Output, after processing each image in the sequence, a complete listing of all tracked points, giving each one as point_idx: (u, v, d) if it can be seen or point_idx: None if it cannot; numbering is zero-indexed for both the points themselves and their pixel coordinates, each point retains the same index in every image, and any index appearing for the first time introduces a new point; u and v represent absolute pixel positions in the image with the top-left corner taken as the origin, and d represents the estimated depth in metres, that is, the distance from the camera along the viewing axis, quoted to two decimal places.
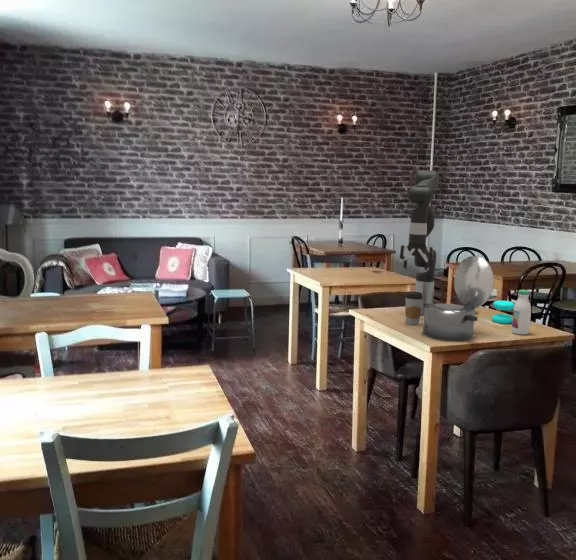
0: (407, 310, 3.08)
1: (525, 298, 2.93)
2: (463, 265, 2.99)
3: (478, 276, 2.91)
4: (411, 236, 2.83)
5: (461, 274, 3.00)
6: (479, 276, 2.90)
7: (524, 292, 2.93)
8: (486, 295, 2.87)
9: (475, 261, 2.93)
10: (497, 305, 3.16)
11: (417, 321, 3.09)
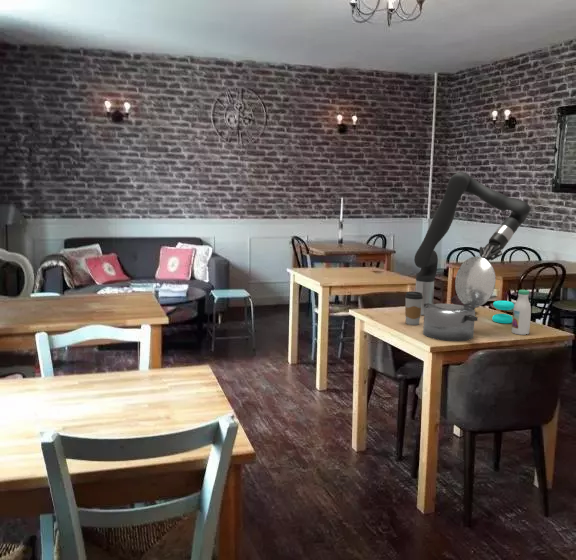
0: (407, 310, 3.08)
1: (525, 298, 2.93)
2: (465, 266, 3.00)
3: (480, 276, 2.92)
4: (506, 243, 2.98)
5: (463, 274, 3.01)
6: (481, 276, 2.91)
7: (524, 292, 2.93)
8: (487, 295, 2.87)
9: (478, 261, 2.94)
10: (497, 305, 3.16)
11: (417, 321, 3.09)
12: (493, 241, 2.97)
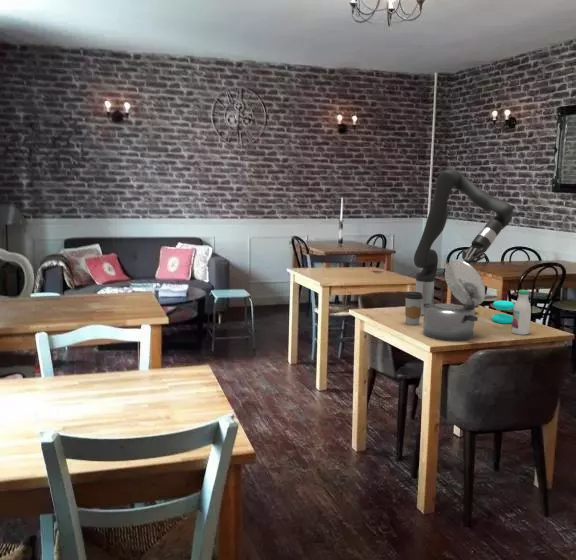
0: (407, 310, 3.08)
1: (526, 298, 2.93)
2: (449, 269, 2.95)
3: (467, 279, 2.88)
4: (489, 246, 2.93)
5: (450, 276, 2.97)
6: (468, 279, 2.87)
7: (524, 292, 2.93)
8: (481, 296, 2.85)
9: (459, 265, 2.88)
10: (497, 305, 3.16)
11: (417, 321, 3.09)
12: (476, 243, 2.92)
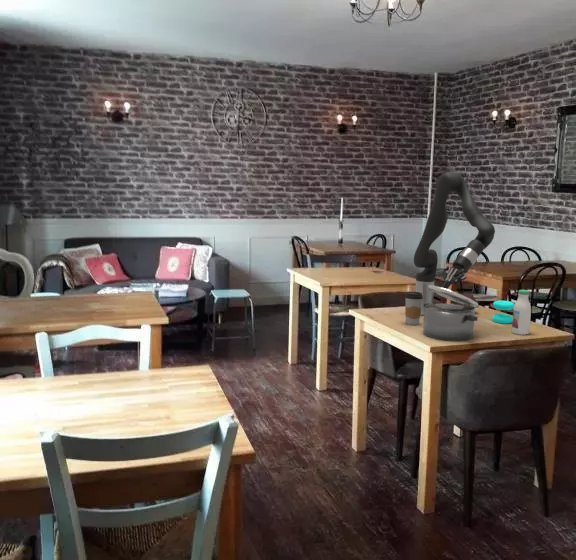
0: (407, 310, 3.08)
1: (525, 298, 2.93)
2: (432, 290, 2.92)
3: (453, 296, 2.85)
4: None
5: (437, 292, 2.95)
6: (454, 296, 2.85)
7: (524, 292, 2.93)
8: (474, 304, 2.84)
9: (438, 290, 2.85)
10: (497, 305, 3.16)
11: (417, 321, 3.09)
12: (457, 264, 2.88)
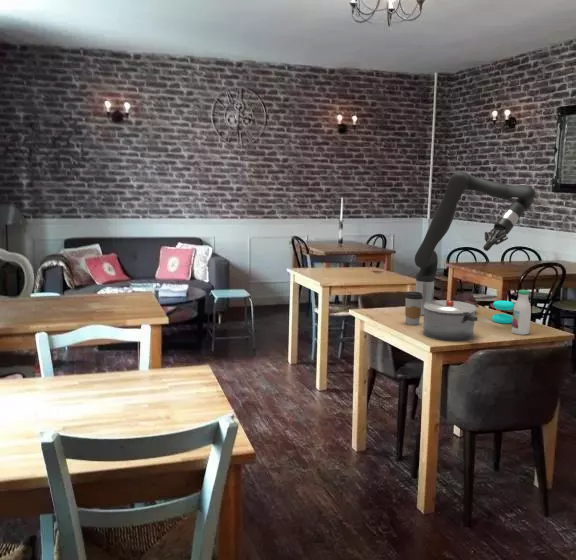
0: (407, 310, 3.08)
1: (525, 298, 2.93)
2: None
3: None
4: None
5: None
6: None
7: (524, 292, 2.93)
8: None
9: None
10: (497, 305, 3.16)
11: (417, 321, 3.09)
12: (498, 226, 2.97)
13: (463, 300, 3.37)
